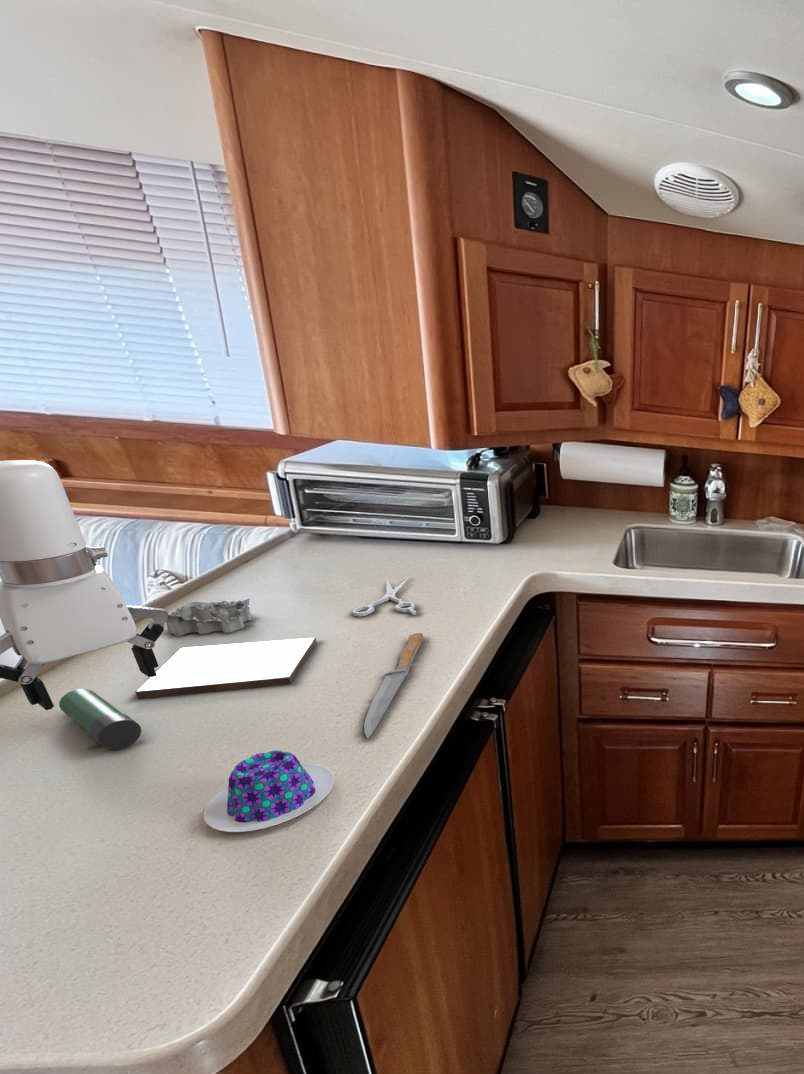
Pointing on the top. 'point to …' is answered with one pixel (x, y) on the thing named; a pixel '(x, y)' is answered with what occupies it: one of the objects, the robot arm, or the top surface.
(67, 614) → the robot arm
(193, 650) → the board
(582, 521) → the top surface
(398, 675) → the knife
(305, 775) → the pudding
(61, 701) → the marker
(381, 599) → the scissors
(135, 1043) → the top surface
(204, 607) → the egg carton
